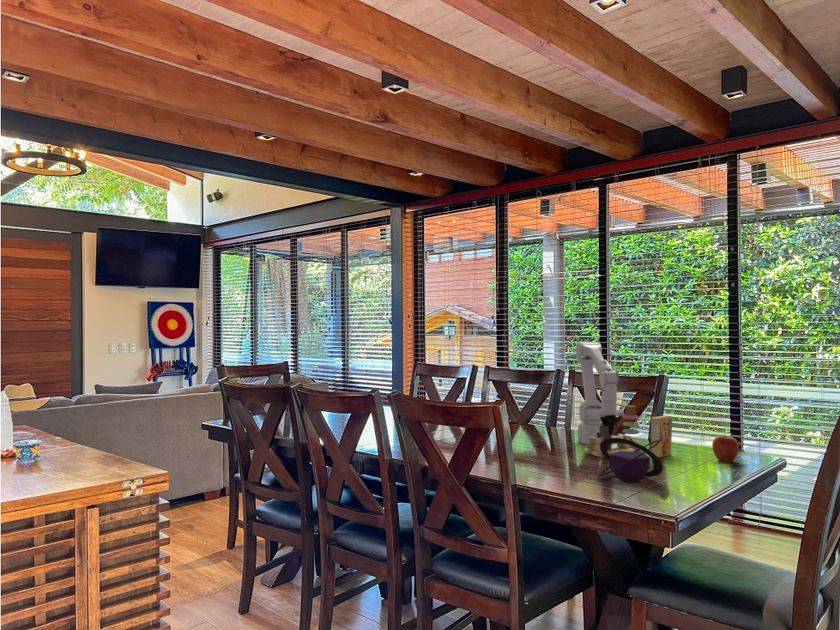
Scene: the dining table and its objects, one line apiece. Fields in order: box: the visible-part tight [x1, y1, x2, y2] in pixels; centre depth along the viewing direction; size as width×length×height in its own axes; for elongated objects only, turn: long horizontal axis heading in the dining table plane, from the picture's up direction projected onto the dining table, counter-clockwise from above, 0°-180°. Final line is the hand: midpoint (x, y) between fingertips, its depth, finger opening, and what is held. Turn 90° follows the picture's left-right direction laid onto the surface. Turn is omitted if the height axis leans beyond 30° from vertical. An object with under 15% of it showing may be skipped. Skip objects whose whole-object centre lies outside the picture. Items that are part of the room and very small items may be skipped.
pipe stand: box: [583, 433, 636, 458], centre depth 251 cm, size 10×18×7 cm, turn 118°
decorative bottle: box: [598, 404, 664, 484], centre depth 207 cm, size 22×21×25 cm
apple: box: [711, 434, 740, 463], centre depth 238 cm, size 9×9×10 cm
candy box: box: [650, 415, 673, 458], centre depth 247 cm, size 9×4×15 cm, turn 129°
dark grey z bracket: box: [597, 424, 612, 450], centre depth 250 cm, size 6×2×9 cm, turn 28°
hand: (608, 434), depth 251 cm, fingers closed
